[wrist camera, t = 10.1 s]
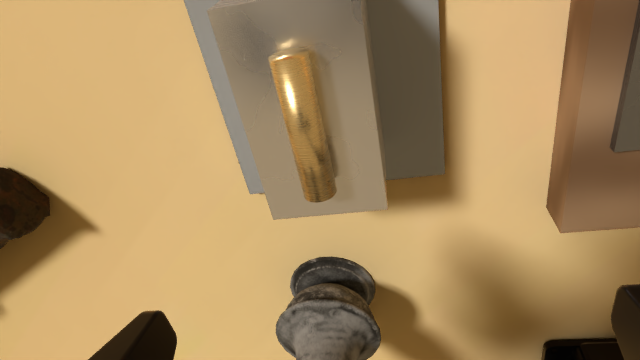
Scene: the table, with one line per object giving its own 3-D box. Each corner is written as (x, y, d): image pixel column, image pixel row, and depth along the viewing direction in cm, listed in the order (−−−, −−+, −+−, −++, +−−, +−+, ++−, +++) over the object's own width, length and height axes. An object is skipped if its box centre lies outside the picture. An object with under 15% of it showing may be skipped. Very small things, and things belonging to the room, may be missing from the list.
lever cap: (384, 144, 20) (389, 230, 15) (292, 155, 21) (267, 240, 16) (360, -43, 16) (356, -10, 11) (246, -20, 17) (192, 20, 12)
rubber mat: (443, 168, 21) (444, 174, 21) (251, 188, 23) (249, 194, 23) (431, -122, 15) (433, -123, 14) (168, -63, 17) (162, -61, 16)
